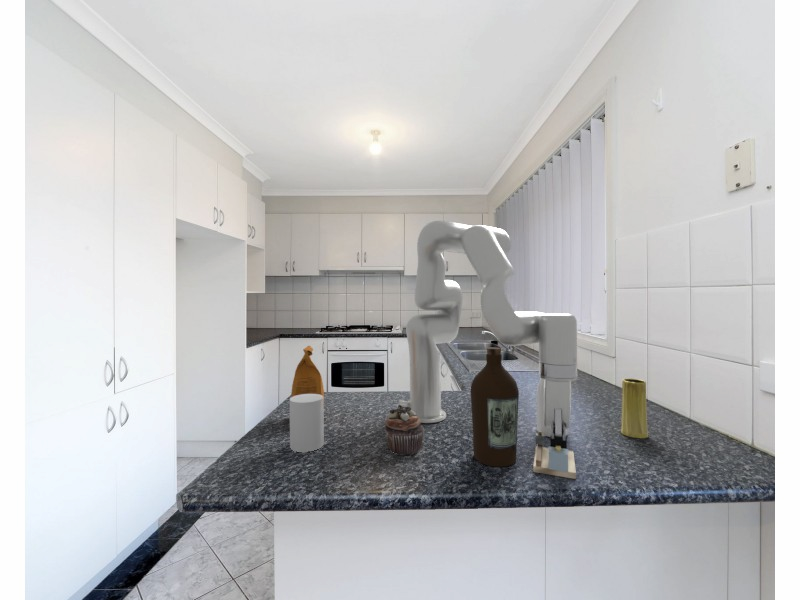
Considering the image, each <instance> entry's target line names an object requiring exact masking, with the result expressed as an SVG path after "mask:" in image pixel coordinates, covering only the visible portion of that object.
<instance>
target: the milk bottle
mask: <svg viewBox="0 0 800 600" xmlns="http://www.w3.org/2000/svg"><path fill="white" fill-rule="evenodd" d="M539 378H540V377H539ZM536 430H537V433H538V432H539V431H540V432H542V434H544V437H549V438H550V436H551V425H550V426H547V427H545V426H544V379H542V378H540V379H539V381H538V383H537V388H536ZM568 434H569V428H568V429H567V430H566V429H565V437H567V436H568Z"/></svg>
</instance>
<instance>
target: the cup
mask: <svg viewBox="0 0 800 600" xmlns="http://www.w3.org/2000/svg"><path fill="white" fill-rule="evenodd" d="M324 410H325V407H324V408H323V396H322V395H320V394H301V395H296V396H293V397H291V396H290V398H289V449H290V448H291V449H292V450H293V451H297V452H308V451H314V450H317V449H319V448H321V447H322V446H323V445H324V446H325V435H324V433H325V431H324V430H325V428H324V427H325V426H324V425H325V424H324V422H325V421H324V420H325V419H324V415H325V414H324ZM324 446H323V447H324ZM323 447H322V448H323ZM322 448H321V449H322ZM319 450H320V449H319ZM293 451H292V452H293ZM317 451H318V450H317ZM314 452H315V451H314Z"/></svg>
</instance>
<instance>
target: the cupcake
mask: <svg viewBox="0 0 800 600" xmlns="http://www.w3.org/2000/svg"><path fill="white" fill-rule="evenodd" d="M387 415H388V416H387V419H386V420H385V426H384V431H385V435H386V440H387V444H388V450H389V449H390V450H391V451H392V452H394V453H397V454H396V455H398V454H411V455H414V454H413V453H415V454H417V452H418V453H419V452H420V451H422V444H423V438H424V433H425V427H424V426H423V425H422V423H420V418H419V417H417V416H416V413H415V412H413V411H412V410H411V408H410V407H405V408H404V407H402V406H401V405H399V404H398V405H397V408H395V409H390V410H389V412H388V414H387ZM390 450H389V451H390ZM391 451H390V452H391ZM392 452H391V453H392ZM394 453H393V454H394Z"/></svg>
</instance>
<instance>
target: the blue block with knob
mask: <svg viewBox="0 0 800 600" xmlns="http://www.w3.org/2000/svg"><path fill="white" fill-rule="evenodd" d="M548 448H549V469H551V470H557V471H563V472H568V451H569V449H568V448H567V449H564V448H561V446H556V447H550V445H549V446H548Z"/></svg>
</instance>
